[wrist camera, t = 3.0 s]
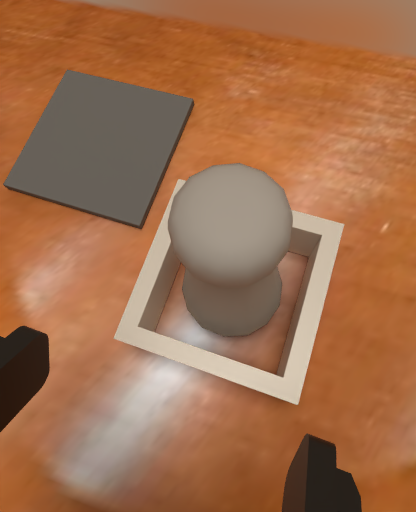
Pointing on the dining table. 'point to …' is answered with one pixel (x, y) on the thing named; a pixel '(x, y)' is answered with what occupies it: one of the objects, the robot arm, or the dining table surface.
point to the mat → (101, 147)
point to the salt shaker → (231, 246)
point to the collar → (280, 385)
